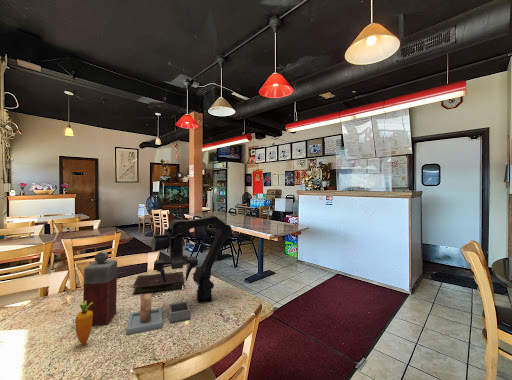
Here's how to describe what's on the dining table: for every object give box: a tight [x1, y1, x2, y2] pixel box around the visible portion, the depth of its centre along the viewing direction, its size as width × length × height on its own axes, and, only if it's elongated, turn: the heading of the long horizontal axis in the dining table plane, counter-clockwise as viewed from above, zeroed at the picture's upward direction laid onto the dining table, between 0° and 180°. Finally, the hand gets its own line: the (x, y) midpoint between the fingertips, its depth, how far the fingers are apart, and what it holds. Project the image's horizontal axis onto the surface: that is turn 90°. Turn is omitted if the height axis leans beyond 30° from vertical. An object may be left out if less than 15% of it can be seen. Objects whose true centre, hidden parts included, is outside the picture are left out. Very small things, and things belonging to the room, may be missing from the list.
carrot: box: [75, 301, 93, 346], centre depth 80 cm, size 5×5×15 cm
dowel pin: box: [139, 293, 152, 323], centre depth 94 cm, size 4×4×10 cm
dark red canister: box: [82, 250, 118, 327], centre depth 97 cm, size 9×11×28 cm
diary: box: [132, 271, 185, 296], centre depth 130 cm, size 19×25×5 cm
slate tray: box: [125, 307, 163, 336], centre depth 94 cm, size 12×12×2 cm
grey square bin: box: [168, 301, 191, 324], centre depth 99 cm, size 8×8×4 cm
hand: (175, 281), depth 106 cm, fingers open, 9 cm apart
